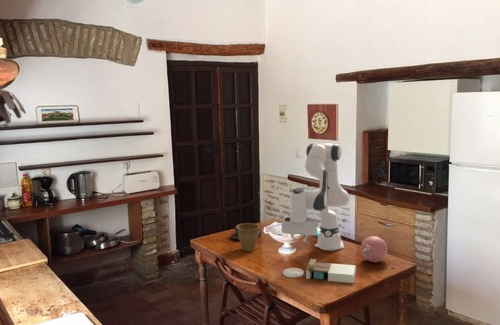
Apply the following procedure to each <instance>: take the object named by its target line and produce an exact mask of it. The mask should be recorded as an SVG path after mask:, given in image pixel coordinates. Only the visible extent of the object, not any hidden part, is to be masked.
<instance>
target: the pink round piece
mask: <svg viewBox="0 0 500 325" xmlns="http://www.w3.org/2000/svg"><path fill="white" fill-rule="evenodd" d="M360 253H361V256H362V257H363V258H364V259H365V260H366V261H368V262H371V263H380V262H381V261H383V260H384V259H385V258H386V257H387V254H388V246H387V243H386V241H385V240H384V239H382V238H381V237H379V236H375V235H372V236H368V237H366V238H365V239H364V240H362V242H361V244H360Z"/></svg>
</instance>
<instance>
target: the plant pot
mask: <svg viewBox="0 0 500 325" xmlns="http://www.w3.org/2000/svg"><path fill="white" fill-rule="evenodd" d="M240 224H241V225H238V224H237V225H238V226H237V232H238V236H239V239H238V240H239V243H240V246H241V248H242V250H243V252H253V251H255V248H256V246H257V241H258V238H259V235H258V233H259V231H260V225H259V224H257V223H253V224H242V223H240Z"/></svg>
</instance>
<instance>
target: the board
mask: <svg viewBox="0 0 500 325" xmlns="http://www.w3.org/2000/svg"><path fill="white" fill-rule="evenodd" d="M316 262H317V261H316ZM317 263H319V262H317ZM328 263H329V262H328ZM329 264H331V266H330V268H329V271H328V272H324V274H325V273H327V281H328V282H337V283H348V284H349V283H350V284H354V282H355V277H356V270H357V268H356V267H357V266H356V265H353V264H341V263H329ZM313 274H314V271H308V267H307V268H306V271H305V275H306V276H305V278H306V280H310V279H311V277H312V275H313Z"/></svg>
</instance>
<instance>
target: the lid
mask: <svg viewBox="0 0 500 325" xmlns="http://www.w3.org/2000/svg"><path fill="white" fill-rule="evenodd" d="M331 264H332V263H331ZM331 264H329V262H327V263H326V262H318V263H317V259H315V258H310V260H309V262H308V265H307V268H308V271H318V272H328V271H329V268H330V266H331Z"/></svg>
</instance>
